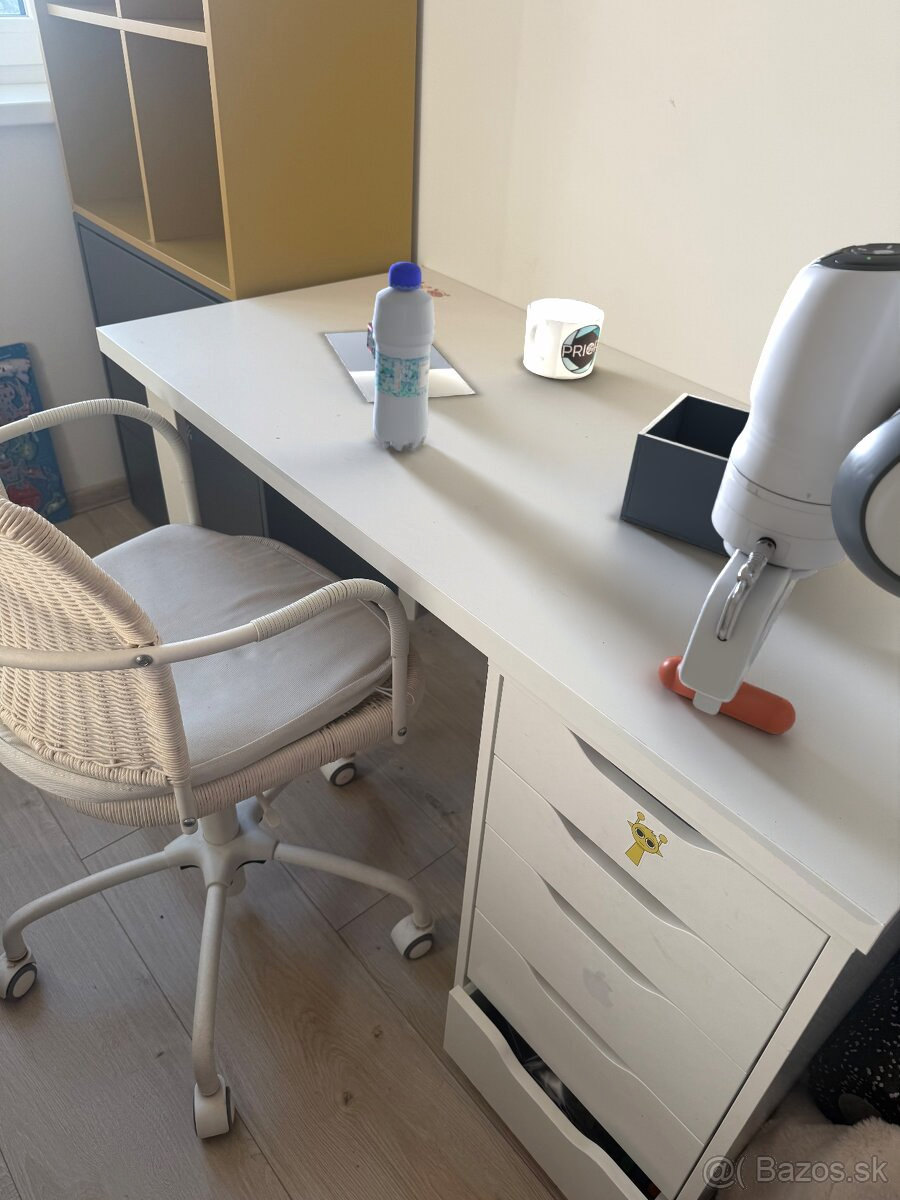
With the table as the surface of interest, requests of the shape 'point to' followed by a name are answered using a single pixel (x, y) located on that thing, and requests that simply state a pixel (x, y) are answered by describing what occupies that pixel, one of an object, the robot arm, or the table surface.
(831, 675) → the table surface
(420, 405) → the bottle
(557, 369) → the mug
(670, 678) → the orange round-ended cylinder
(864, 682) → the table surface
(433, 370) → the shiny metal sheet
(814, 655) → the table surface
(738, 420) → the bin
